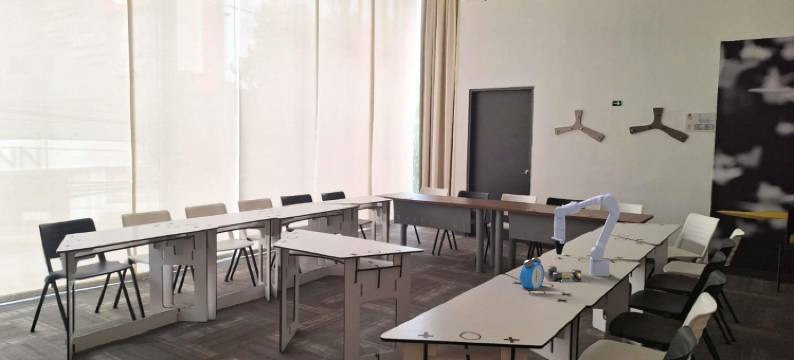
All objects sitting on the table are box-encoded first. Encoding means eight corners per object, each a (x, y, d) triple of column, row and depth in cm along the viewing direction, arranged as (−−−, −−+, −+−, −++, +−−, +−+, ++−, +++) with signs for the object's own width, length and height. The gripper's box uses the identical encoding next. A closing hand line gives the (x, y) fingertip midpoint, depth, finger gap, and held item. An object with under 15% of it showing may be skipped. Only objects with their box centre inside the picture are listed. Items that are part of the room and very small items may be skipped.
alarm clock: (530, 293, 247) (531, 261, 246) (518, 290, 251) (519, 259, 250) (544, 287, 256) (545, 257, 255) (533, 285, 260) (533, 255, 259)
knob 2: (553, 280, 264) (554, 273, 264) (552, 277, 269) (552, 271, 268) (574, 280, 263) (574, 274, 263) (572, 278, 268) (572, 272, 268)
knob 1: (556, 274, 275) (556, 268, 275) (547, 273, 277) (547, 267, 277) (557, 270, 285) (557, 264, 285) (548, 269, 286) (548, 263, 286)
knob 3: (571, 275, 274) (571, 269, 273) (579, 275, 273) (580, 269, 273) (576, 280, 264) (576, 274, 263) (585, 280, 263) (585, 274, 263)
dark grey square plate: (579, 274, 281) (579, 270, 281) (589, 284, 261) (590, 280, 261) (541, 273, 283) (541, 269, 282) (548, 284, 263) (548, 279, 263)
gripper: (549, 227, 289) (548, 251, 291) (554, 231, 275) (554, 257, 276) (562, 227, 289) (561, 251, 290) (568, 231, 274) (568, 257, 276)
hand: (559, 254), depth 283 cm, fingers closed
